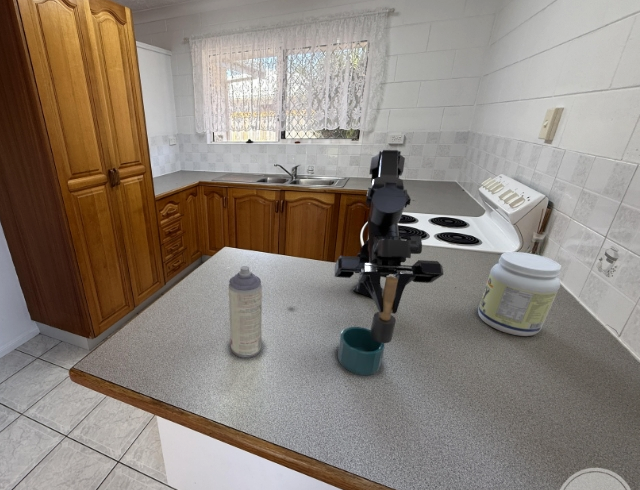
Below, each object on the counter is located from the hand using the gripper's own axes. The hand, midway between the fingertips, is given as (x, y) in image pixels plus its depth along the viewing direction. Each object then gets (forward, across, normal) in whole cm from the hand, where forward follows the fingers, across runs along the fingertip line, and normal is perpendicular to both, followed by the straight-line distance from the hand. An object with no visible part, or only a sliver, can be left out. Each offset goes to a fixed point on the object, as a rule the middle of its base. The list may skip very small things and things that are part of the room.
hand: (387, 312), depth 58 cm
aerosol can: (+8, -28, +11) cm, 31 cm away
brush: (+4, 0, +6) cm, 7 cm away
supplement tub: (-5, +35, +25) cm, 43 cm away
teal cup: (+8, -3, +11) cm, 14 cm away
